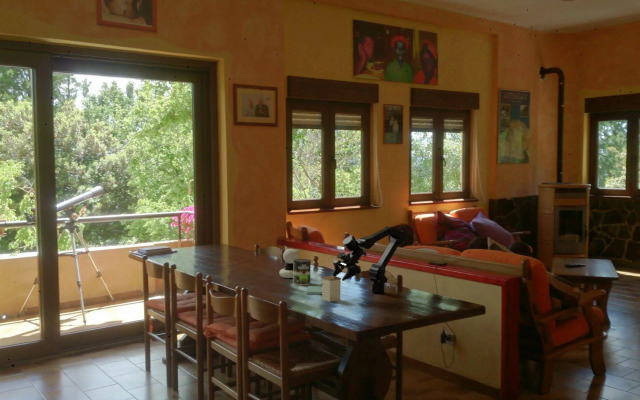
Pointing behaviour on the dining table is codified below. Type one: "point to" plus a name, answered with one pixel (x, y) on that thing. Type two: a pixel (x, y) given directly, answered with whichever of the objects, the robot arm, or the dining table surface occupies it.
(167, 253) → the dining table surface
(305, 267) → the coffee can
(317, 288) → the base block
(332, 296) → the beige rectangular block
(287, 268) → the decorative figurine
